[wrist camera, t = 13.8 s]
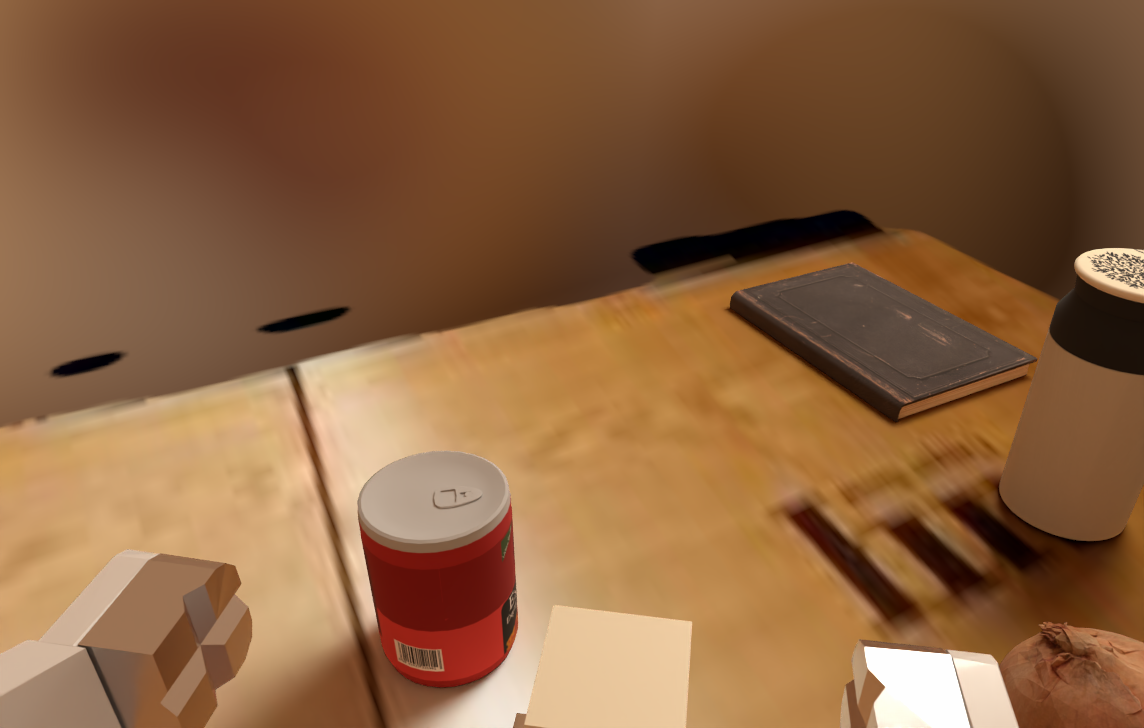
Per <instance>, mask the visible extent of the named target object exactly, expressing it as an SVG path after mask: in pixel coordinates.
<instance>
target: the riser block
mask: <svg viewBox="0 0 1144 728" xmlns="http://www.w3.org/2000/svg"><path fill="white" fill-rule="evenodd" d="M526 715H527V714H520V713H517V714H516V718H515V722H514V726H513V728H524V723H525V719H526Z"/></svg>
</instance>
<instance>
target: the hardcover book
mask: <svg viewBox="0 0 1144 728" xmlns="http://www.w3.org/2000/svg"><path fill="white" fill-rule="evenodd" d="M730 308H731V309H732V310H734V311H735V312H737V313H738V314H740V315H741V316H742V317H744V318H745V319H747V320H748V321H750V322H751V323H753V324H754V325H756V326H757V327H758V328H760V329H761V330H763V331H764V332H766V333H767V334H769V335H770V336H772V337H773V338H774V339H776V340H777V341H779V342H780V343H782V344H783V345H785V346H786V347H787V348H789V349H790V350H792V351H793V352H795V353H796V354H798V355H799V356H801V357H802V358H803V359H805V360H806V361H808V362H809V363H811V364H812V365H814V366H815V367H816V368H818V369H819V370H821V371H822V372H824V373H825V374H827V375H828V376H830V377H831V378H832V379H834V380H835V381H837V382H838V383H840V384H841V385H843V386H844V387H846V388H847V389H848V390H850V391H851V392H853V393H854V394H856V395H857V396H859V397H860V398H861V399H863V400H864V401H866V402H867V403H869V404H870V405H872V406H873V407H875V408H876V409H877V410H879V411H880V412H882V413H883V414H885V415H886V416H888V417H889V418H891V419H892V420H893V421H895V422H898V419H900V418H903V417H905V416H908V415H911V414H914V413H917V412H920V411H923V410H926V409H929V408H932V407H934V406H937V405H940V404H943V403H946V402H949V401H952V400H955V399H958V398H960V397H963V396H966V395H969V394H972V393H975V392H978V391H981V390H984V389H986V388H989V387H992V386H995V385H998V384H1001V383H1004V382H1007V381H1010V380H1013V379H1015V378H1018V377H1021V376H1024V375H1026V374H1027V370H1028V367H1029V365H1030V363H1033V362H1036V361H1037V358H1036V357H1034V356H1032V355H1030V354H1028V353H1026V352H1024V351H1022V350H1020V349H1018V348H1016V347H1014V346H1012V345H1011V344H1009V343H1007V342H1005V341H1003V340H1001V339H999V338H997V337H995V336H993V335H991V334H989V333H987V332H986V331H984V330H982V329H980V328H978V327H976V326H974V325H972V324H970V323H968V322H966V321H964V320H962V319H960V318H959V317H957V316H955V315H953V314H951V313H949V312H947V311H945V310H943V309H941V308H939V307H937V306H935V305H934V304H932V303H930V302H928V301H926V300H924V299H922V298H920V297H918V296H916V295H914V294H912V293H910V292H908V291H907V290H905V289H903V288H901V287H899V286H897V285H895V284H893V283H891V282H889V281H887V280H885V279H883V278H882V277H880V276H878V275H876V274H874V273H872V272H870V271H868V270H866V269H864V268H862V267H860V266H858V265H856V264H855V263H849V264H845V265H841V266H837V267H833V268H828V269H824V270H820V271H816V272H812V273H808V274H804V275H800V276H796V277H792V278H788V279H784V280H780V281H776V282H772V283H768V284H764V285H760V286H756V287H752V288H748V289H744V290H740V291H736V292H735V293H734V294H733V295H732V297H731V301H730Z"/></svg>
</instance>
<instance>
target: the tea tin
mask: <svg viewBox="0 0 1144 728" xmlns="http://www.w3.org/2000/svg"><path fill="white" fill-rule="evenodd" d="M691 631H692V622H690V621H682V620H674V619H666V618H657V617H649V616H641V615H633V614H624V613H616V612H608V611H600V610H591V609H583V608H575V607H567V606H558V605H554V606H553V610H552V614H551V618H550V622H549V626H548V630H547V634H546V638H545V642H544V646H543V650H542V654H541V658H540V662H539V666H538V670H537V675H536V679H535V683H534V687H533V691H532V695H531V699H530V703H529V707H528V711H527V715H526V719H525V723H524V728H686V715H687V698H688V681H689V665H690V648H691Z"/></svg>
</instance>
